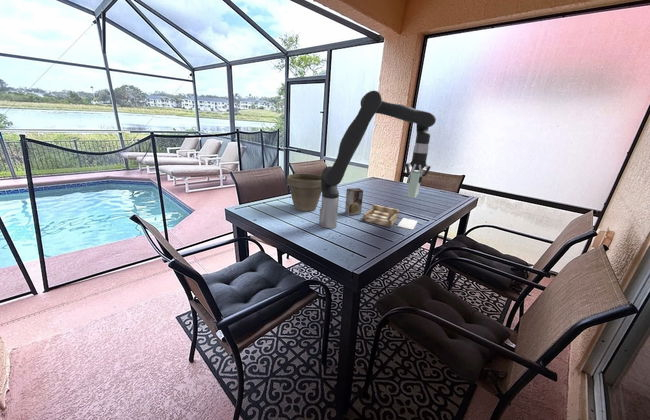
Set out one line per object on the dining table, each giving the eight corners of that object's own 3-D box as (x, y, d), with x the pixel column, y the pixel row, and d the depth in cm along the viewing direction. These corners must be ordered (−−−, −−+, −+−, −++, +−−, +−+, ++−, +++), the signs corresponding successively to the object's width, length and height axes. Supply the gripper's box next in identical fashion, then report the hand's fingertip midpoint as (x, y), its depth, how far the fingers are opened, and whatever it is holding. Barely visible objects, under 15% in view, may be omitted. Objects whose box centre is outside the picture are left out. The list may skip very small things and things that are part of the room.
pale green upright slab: (411, 192, 152) (415, 169, 147) (418, 193, 150) (422, 170, 145) (407, 197, 142) (411, 172, 137) (414, 198, 140) (418, 173, 135)
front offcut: (370, 220, 154) (371, 214, 153) (372, 219, 156) (373, 213, 155) (384, 224, 149) (385, 218, 148) (386, 223, 152) (387, 217, 150)
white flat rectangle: (397, 226, 147) (397, 225, 147) (403, 218, 161) (403, 217, 160) (412, 230, 143) (412, 229, 143) (417, 221, 157) (418, 221, 156)
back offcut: (372, 219, 157) (373, 211, 155) (374, 217, 159) (375, 210, 158) (386, 222, 152) (387, 214, 151) (388, 221, 155) (389, 213, 153)
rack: (363, 220, 153) (364, 211, 151) (372, 212, 167) (373, 204, 165) (390, 227, 146) (391, 217, 144) (397, 218, 160) (399, 209, 158)
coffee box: (357, 211, 169) (359, 187, 164) (361, 214, 164) (363, 190, 158) (344, 211, 167) (346, 188, 161) (348, 215, 161) (350, 190, 155)
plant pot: (308, 200, 186) (309, 171, 179) (331, 209, 169) (333, 178, 162) (279, 206, 170) (279, 174, 163) (302, 217, 153) (302, 182, 146)
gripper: (435, 152, 138) (429, 183, 143) (408, 150, 144) (403, 179, 150) (433, 153, 131) (427, 185, 137) (405, 151, 138) (400, 181, 143)
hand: (415, 182), depth 143 cm, fingers closed on pale green upright slab, 4 cm apart
